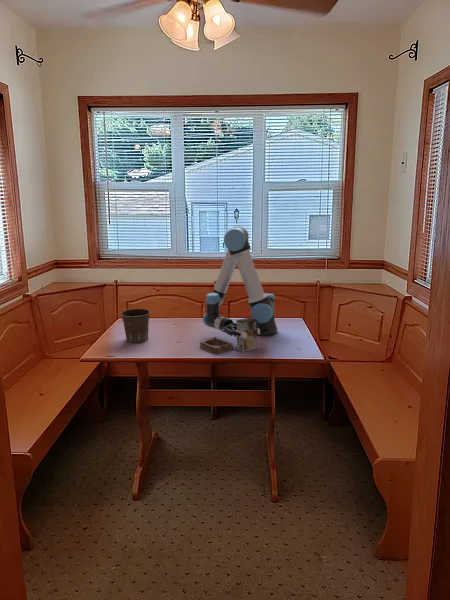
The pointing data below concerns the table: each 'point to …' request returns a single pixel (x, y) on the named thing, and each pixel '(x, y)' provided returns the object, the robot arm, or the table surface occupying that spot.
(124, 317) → the plant pot
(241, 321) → the coffee box
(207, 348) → the brown open rectangular frame
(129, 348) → the table surface
